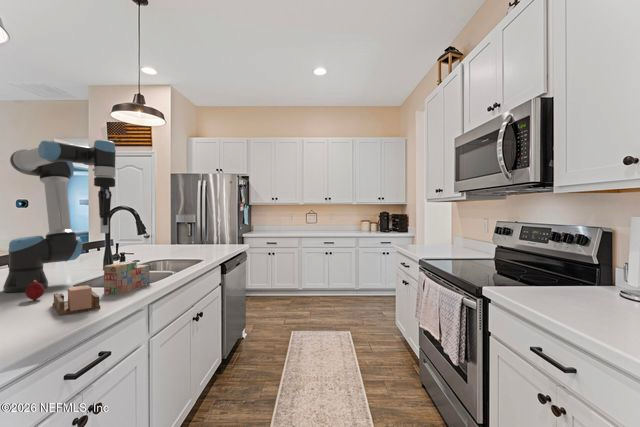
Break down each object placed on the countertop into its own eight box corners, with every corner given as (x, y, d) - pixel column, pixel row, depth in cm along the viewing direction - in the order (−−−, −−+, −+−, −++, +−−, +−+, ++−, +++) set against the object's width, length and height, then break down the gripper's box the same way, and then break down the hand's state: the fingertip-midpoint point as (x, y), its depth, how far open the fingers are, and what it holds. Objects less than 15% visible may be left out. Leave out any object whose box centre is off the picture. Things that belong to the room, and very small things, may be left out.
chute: (52, 305, 124) (52, 293, 124) (90, 299, 133) (91, 288, 133) (58, 315, 113) (58, 302, 113) (100, 308, 121) (100, 296, 121)
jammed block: (67, 307, 118) (67, 287, 118) (88, 304, 122) (88, 285, 122) (70, 311, 114) (70, 290, 114) (91, 307, 118) (91, 288, 118)
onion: (47, 299, 133) (47, 279, 133) (30, 303, 128) (30, 282, 127) (39, 297, 135) (39, 278, 135) (22, 301, 130) (22, 280, 130)
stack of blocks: (138, 283, 163) (138, 258, 163) (149, 283, 162) (150, 258, 162) (103, 294, 142) (103, 265, 142) (116, 294, 141) (116, 266, 141)
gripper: (91, 177, 143) (91, 232, 143) (97, 175, 133) (97, 234, 134) (111, 178, 148) (111, 231, 148) (118, 177, 139) (118, 233, 139)
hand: (104, 232), depth 141 cm, fingers closed
